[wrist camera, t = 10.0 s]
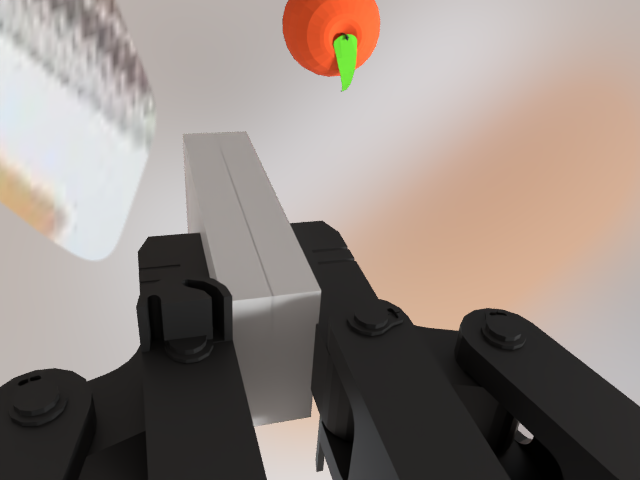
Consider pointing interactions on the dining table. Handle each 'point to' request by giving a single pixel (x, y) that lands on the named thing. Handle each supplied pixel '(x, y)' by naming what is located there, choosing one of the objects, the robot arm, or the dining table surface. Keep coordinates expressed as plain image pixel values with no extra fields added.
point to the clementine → (331, 35)
